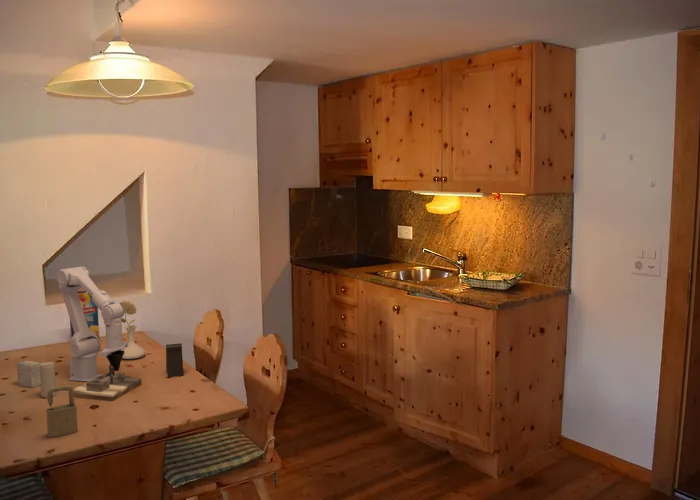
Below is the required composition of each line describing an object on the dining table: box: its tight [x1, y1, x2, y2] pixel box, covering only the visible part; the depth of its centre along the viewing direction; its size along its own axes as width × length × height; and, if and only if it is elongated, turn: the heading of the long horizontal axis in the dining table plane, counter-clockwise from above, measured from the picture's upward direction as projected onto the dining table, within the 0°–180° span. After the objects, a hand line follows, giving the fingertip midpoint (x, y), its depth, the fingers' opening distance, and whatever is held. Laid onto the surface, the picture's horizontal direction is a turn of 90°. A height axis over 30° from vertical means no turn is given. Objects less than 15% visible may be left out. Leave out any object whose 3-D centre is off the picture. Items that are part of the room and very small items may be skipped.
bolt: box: [98, 364, 116, 384], centre depth 224 cm, size 8×2×6 cm, turn 166°
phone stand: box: [165, 343, 184, 378], centre depth 243 cm, size 9×6×12 cm, turn 21°
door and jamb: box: [73, 371, 142, 402], centre depth 224 cm, size 18×17×5 cm
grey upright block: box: [16, 360, 42, 389], centre depth 229 cm, size 8×4×9 cm, turn 65°
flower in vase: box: [119, 300, 146, 360], centre depth 264 cm, size 13×11×25 cm
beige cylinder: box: [40, 361, 57, 399], centre depth 218 cm, size 5×5×12 cm
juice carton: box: [69, 290, 100, 341], centre depth 289 cm, size 12×8×24 cm, turn 120°
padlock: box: [46, 384, 79, 438], centre depth 186 cm, size 4×8×15 cm, turn 123°
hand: (115, 370), depth 229 cm, fingers closed
